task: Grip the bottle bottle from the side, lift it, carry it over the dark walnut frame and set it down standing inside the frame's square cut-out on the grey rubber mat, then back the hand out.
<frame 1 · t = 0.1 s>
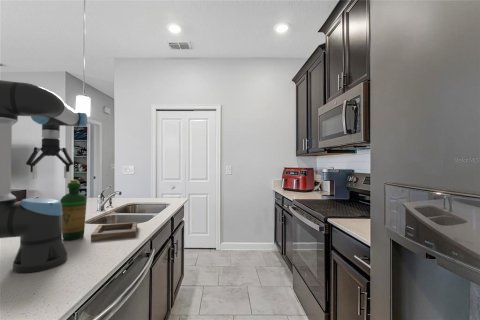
hand: (50, 178, 129), 28 cm above the countertop, tool pointing down, fingers open, 13 cm apart
walnut frame: (116, 233, 124), on the countertop
bottle: (73, 238, 117), on the countertop
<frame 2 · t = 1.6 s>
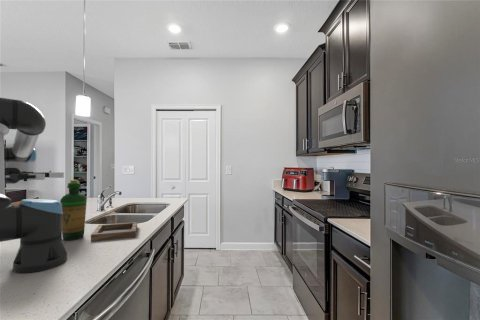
hand: (54, 175, 116), 30 cm above the countertop, tool horizontal, fingers open, 13 cm apart
nothing on the countertop moved.
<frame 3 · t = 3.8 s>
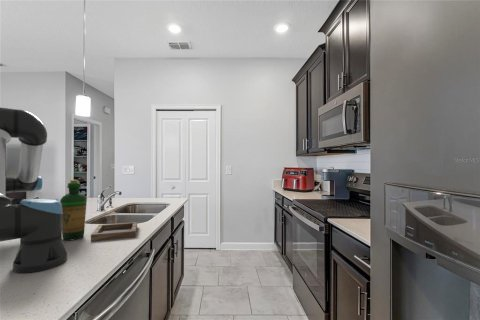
hand: (61, 205, 117), 15 cm above the countertop, tool horizontal, fingers open, 13 cm apart
nothing on the countertop moved.
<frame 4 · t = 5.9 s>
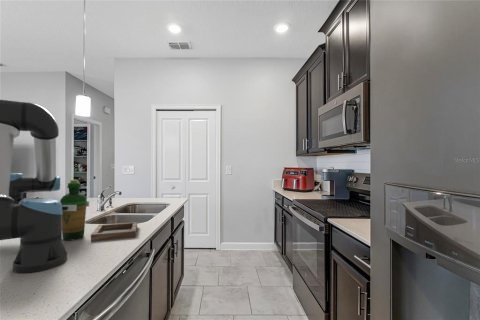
hand: (82, 205, 117), 16 cm above the countertop, tool horizontal, fingers closed on bottle, 11 cm apart
bottle: (73, 238, 117), on the countertop, touching gripper
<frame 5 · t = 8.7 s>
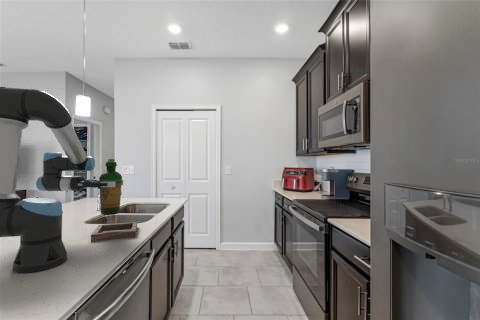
hand: (119, 183, 125), 26 cm above the countertop, tool horizontal, fingers closed on bottle, 11 cm apart
bottle: (110, 213, 124), point 10 cm above the countertop, touching gripper
when the fingers open (17 cm above the countertop, at t = 11.7 s): bottle stays where it is, resting on walnut frame.
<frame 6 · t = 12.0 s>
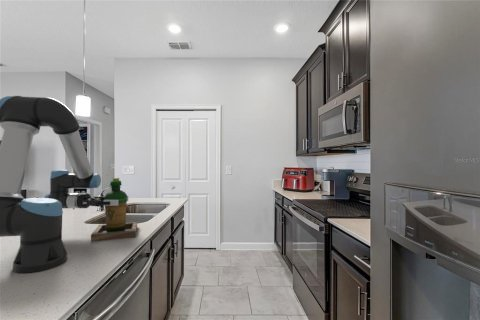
hand: (123, 200, 125), 17 cm above the countertop, tool horizontal, fingers open, 13 cm apart
bottle: (116, 233, 124), resting on walnut frame
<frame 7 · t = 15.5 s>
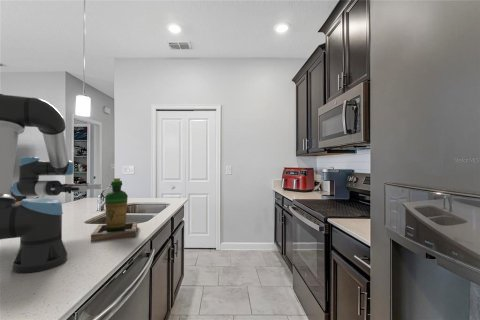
hand: (94, 187, 123), 24 cm above the countertop, tool horizontal, fingers open, 13 cm apart
nothing on the countertop moved.
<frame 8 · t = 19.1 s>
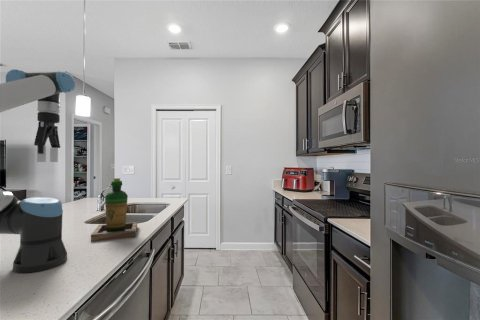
hand: (48, 162, 104), 37 cm above the countertop, tool pointing down, fingers open, 13 cm apart
nothing on the countertop moved.
at the end: bottle 0.1 cm off-centre on the walnut frame, point 0.2 cm above the walnut frame's base; bottle tilted 0°; the gripper is holding nothing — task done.
